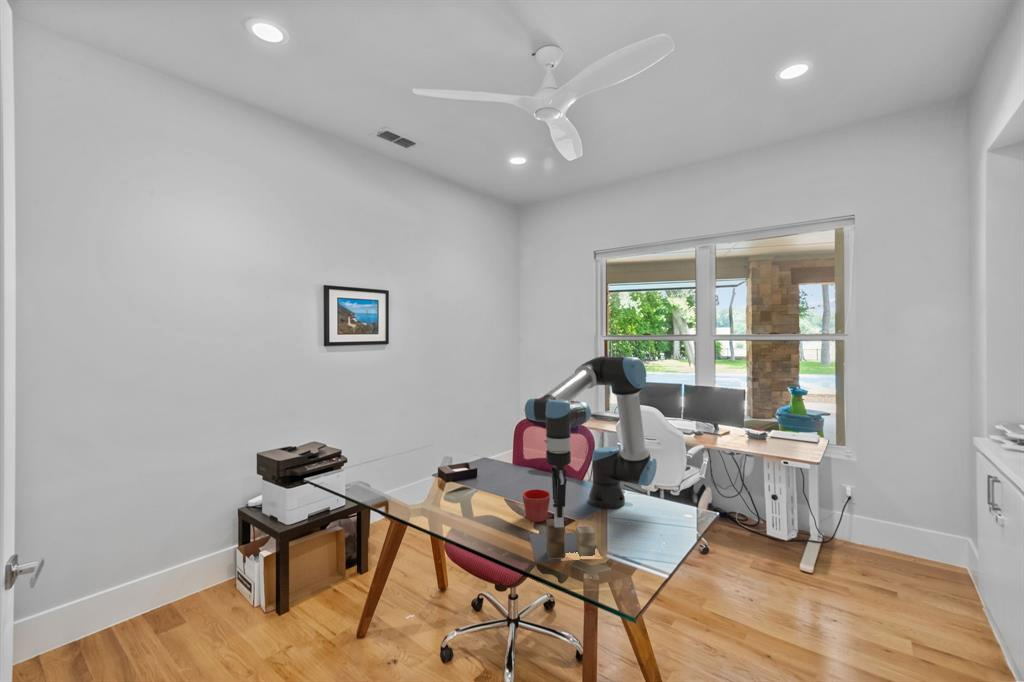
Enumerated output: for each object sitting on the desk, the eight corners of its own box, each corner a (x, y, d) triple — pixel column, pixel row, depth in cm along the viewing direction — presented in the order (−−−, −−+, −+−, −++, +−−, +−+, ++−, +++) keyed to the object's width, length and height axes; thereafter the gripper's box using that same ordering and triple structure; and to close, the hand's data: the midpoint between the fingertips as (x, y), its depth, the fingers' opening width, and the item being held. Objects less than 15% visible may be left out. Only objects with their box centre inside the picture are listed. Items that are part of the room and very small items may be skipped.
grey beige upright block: (591, 549, 153) (590, 525, 153) (595, 556, 148) (594, 532, 148) (576, 550, 152) (576, 526, 152) (579, 557, 147) (579, 533, 147)
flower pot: (549, 524, 174) (548, 499, 174) (520, 522, 176) (520, 497, 176) (552, 513, 184) (551, 489, 184) (525, 512, 186) (525, 488, 186)
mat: (588, 532, 166) (588, 531, 166) (603, 559, 147) (603, 558, 147) (528, 535, 165) (528, 534, 165) (536, 563, 145) (536, 562, 145)
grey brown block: (561, 551, 152) (561, 518, 152) (564, 558, 147) (564, 524, 147) (546, 552, 152) (546, 519, 151) (549, 559, 147) (548, 525, 146)
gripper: (543, 445, 147) (543, 518, 147) (549, 456, 134) (550, 536, 134) (566, 444, 147) (566, 517, 148) (574, 455, 134) (575, 534, 135)
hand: (559, 526), depth 141 cm, fingers closed
